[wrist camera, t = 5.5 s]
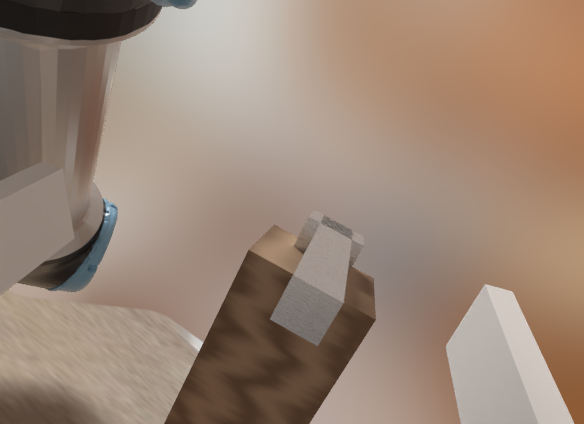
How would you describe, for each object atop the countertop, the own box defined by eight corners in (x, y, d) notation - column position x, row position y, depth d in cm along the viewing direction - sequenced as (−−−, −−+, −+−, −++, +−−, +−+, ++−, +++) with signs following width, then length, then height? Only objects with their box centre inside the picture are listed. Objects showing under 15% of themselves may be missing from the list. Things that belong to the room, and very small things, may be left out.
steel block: (252, 309, 27) (274, 265, 26) (299, 236, 46) (313, 209, 45) (335, 356, 26) (362, 313, 25) (348, 263, 45) (364, 236, 44)
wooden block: (154, 443, 43) (248, 249, 36) (194, 385, 53) (274, 224, 46) (256, 506, 42) (375, 319, 35) (277, 434, 52) (373, 278, 45)
